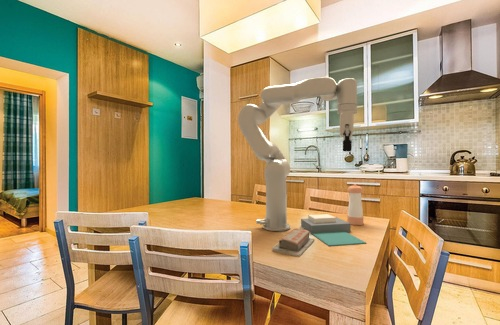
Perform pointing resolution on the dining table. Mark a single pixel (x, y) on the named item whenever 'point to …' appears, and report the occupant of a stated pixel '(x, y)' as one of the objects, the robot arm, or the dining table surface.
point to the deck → (326, 226)
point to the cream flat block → (322, 218)
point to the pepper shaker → (355, 205)
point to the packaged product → (294, 242)
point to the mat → (338, 238)
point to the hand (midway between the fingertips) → (347, 150)
